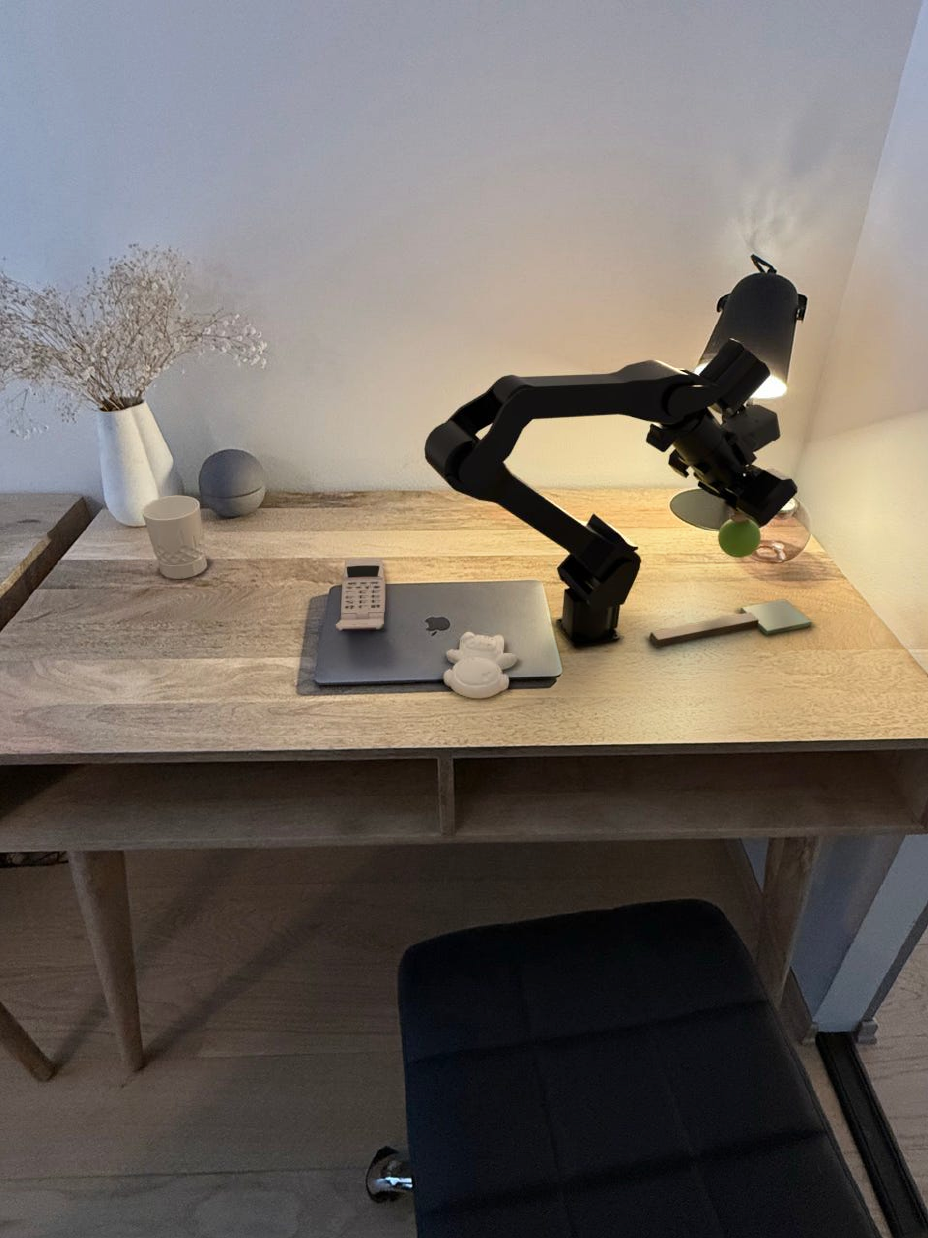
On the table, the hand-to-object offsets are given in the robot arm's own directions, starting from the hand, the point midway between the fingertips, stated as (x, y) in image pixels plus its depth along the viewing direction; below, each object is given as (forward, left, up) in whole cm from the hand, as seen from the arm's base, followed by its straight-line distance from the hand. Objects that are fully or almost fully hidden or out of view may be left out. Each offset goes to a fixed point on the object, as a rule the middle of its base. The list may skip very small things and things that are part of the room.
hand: (756, 509), depth 109 cm
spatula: (-6, -7, -13) cm, 16 cm away
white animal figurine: (-40, -5, -13) cm, 43 cm away
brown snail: (-1, 0, -7) cm, 7 cm away
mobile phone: (-51, +12, -13) cm, 54 cm away
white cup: (-74, +32, -13) cm, 82 cm away
